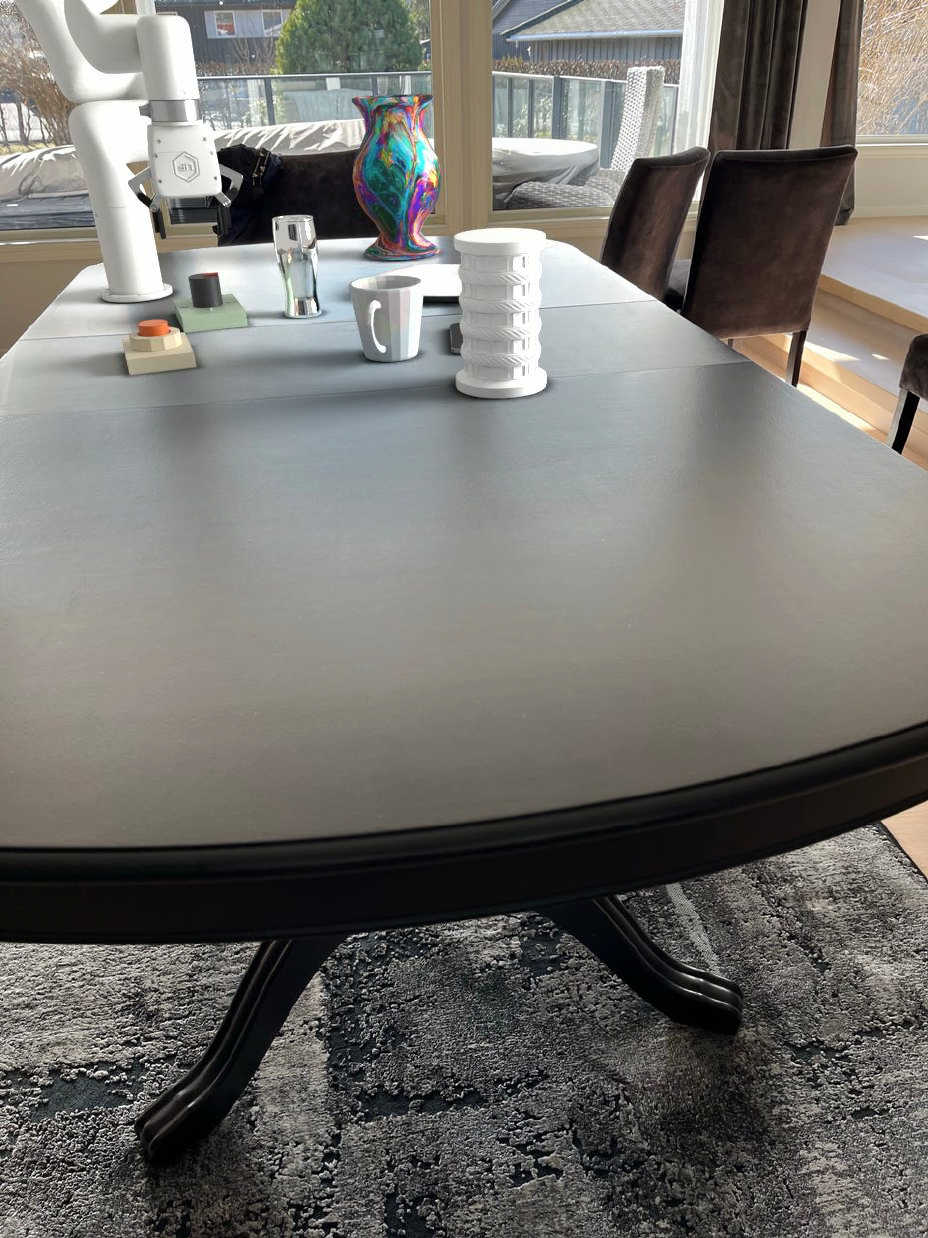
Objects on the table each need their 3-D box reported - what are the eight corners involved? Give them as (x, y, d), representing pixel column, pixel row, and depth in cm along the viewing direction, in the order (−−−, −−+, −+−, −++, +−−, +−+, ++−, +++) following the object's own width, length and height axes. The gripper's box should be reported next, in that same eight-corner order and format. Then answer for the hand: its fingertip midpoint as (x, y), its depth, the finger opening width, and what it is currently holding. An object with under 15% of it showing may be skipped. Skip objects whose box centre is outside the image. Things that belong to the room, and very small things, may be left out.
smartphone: (451, 349, 133) (449, 322, 146) (451, 354, 134) (449, 327, 147) (505, 347, 133) (499, 320, 146) (505, 352, 134) (499, 325, 147)
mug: (435, 346, 138) (432, 274, 133) (409, 375, 126) (404, 298, 120) (366, 344, 140) (361, 273, 135) (334, 373, 127) (327, 297, 122)
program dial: (195, 308, 152) (189, 277, 150) (191, 302, 156) (186, 272, 154) (225, 305, 154) (220, 274, 151) (220, 299, 158) (215, 269, 155)
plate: (341, 301, 165) (340, 289, 164) (406, 271, 187) (405, 261, 186) (484, 310, 156) (483, 298, 155) (535, 278, 178) (535, 267, 177)
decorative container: (438, 390, 119) (431, 239, 110) (485, 367, 128) (482, 225, 119) (518, 403, 114) (518, 245, 105) (561, 378, 122) (565, 230, 113)
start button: (139, 333, 135) (136, 321, 134) (168, 330, 136) (165, 318, 135) (141, 340, 132) (138, 327, 131) (170, 336, 133) (168, 324, 132)
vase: (457, 249, 207) (453, 93, 192) (420, 264, 193) (412, 97, 178) (384, 245, 214) (374, 94, 198) (343, 260, 200) (328, 98, 184)
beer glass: (316, 319, 155) (305, 220, 147) (276, 318, 156) (263, 221, 148) (329, 309, 160) (320, 214, 153) (291, 308, 162) (280, 214, 154)
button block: (125, 354, 139) (119, 326, 137) (187, 346, 142) (182, 319, 140) (129, 375, 129) (123, 346, 127) (196, 367, 132) (191, 338, 130)
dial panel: (175, 314, 161) (172, 298, 159) (234, 308, 163) (232, 292, 162) (184, 333, 149) (181, 315, 148) (247, 325, 152) (245, 309, 151)
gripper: (116, 117, 135) (139, 243, 144) (238, 112, 140) (253, 235, 149) (113, 113, 141) (136, 235, 150) (230, 109, 146) (245, 227, 155)
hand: (194, 235), depth 150 cm, fingers open, 9 cm apart
